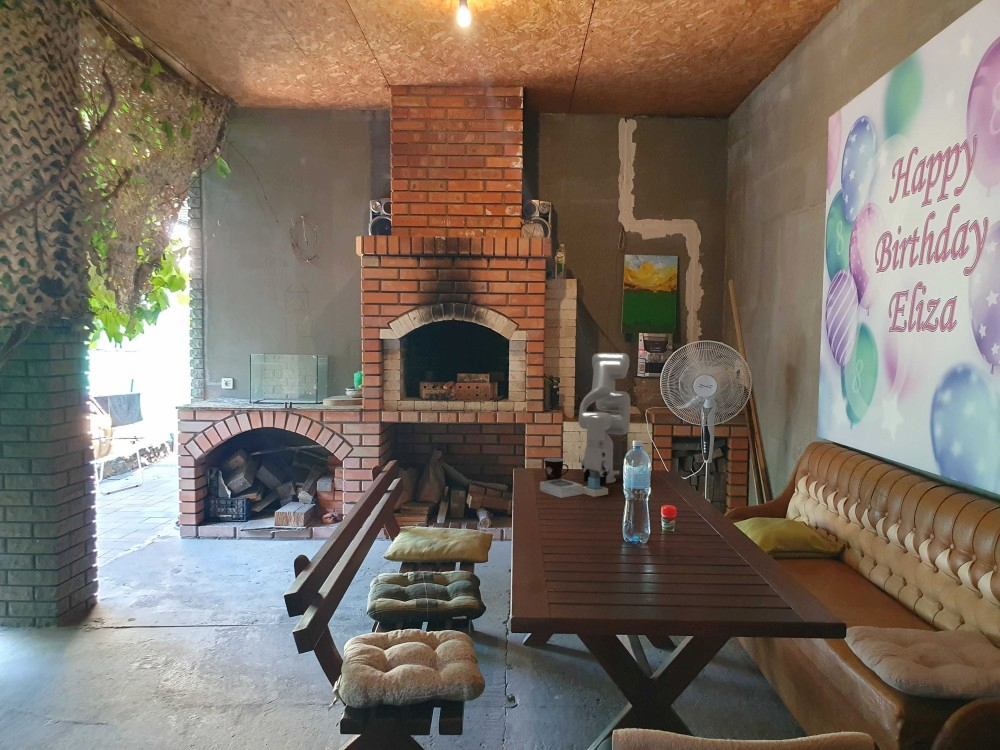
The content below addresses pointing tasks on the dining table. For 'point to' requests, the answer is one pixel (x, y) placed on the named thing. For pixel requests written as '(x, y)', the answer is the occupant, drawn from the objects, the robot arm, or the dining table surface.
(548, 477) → the coffee mug
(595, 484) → the plug
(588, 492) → the cream square frame
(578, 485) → the port panel
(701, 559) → the dining table surface
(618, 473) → the robot arm
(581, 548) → the dining table surface
